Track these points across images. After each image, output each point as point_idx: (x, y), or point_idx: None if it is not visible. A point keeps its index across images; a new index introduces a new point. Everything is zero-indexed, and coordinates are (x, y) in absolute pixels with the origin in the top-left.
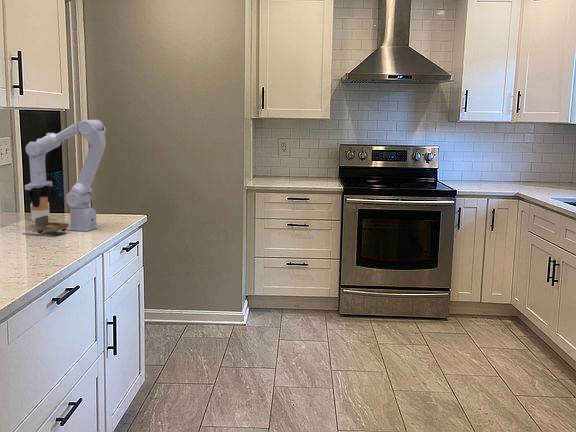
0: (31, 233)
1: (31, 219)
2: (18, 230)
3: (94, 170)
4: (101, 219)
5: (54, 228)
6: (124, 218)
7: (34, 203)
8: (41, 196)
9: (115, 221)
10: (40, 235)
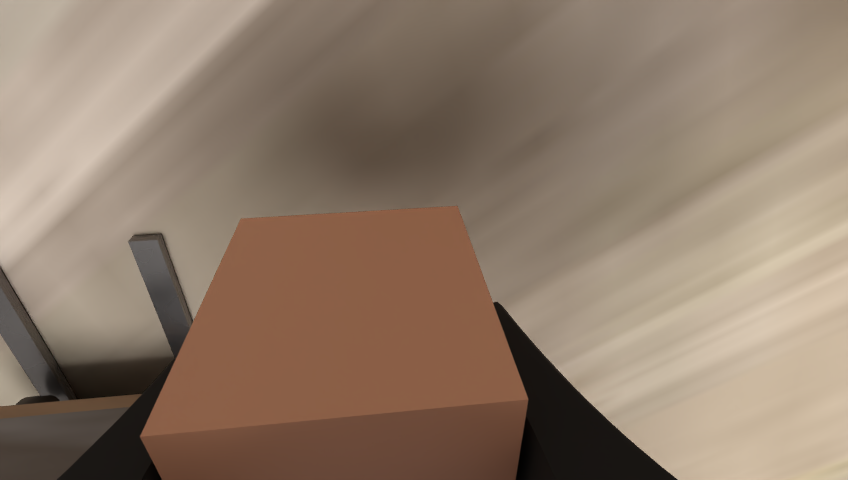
0: (19, 326)
1: None
2: (75, 48)
3: None
4: (798, 375)
5: None
6: (818, 456)
7: None
8: (532, 473)
9: (706, 468)
10: None
